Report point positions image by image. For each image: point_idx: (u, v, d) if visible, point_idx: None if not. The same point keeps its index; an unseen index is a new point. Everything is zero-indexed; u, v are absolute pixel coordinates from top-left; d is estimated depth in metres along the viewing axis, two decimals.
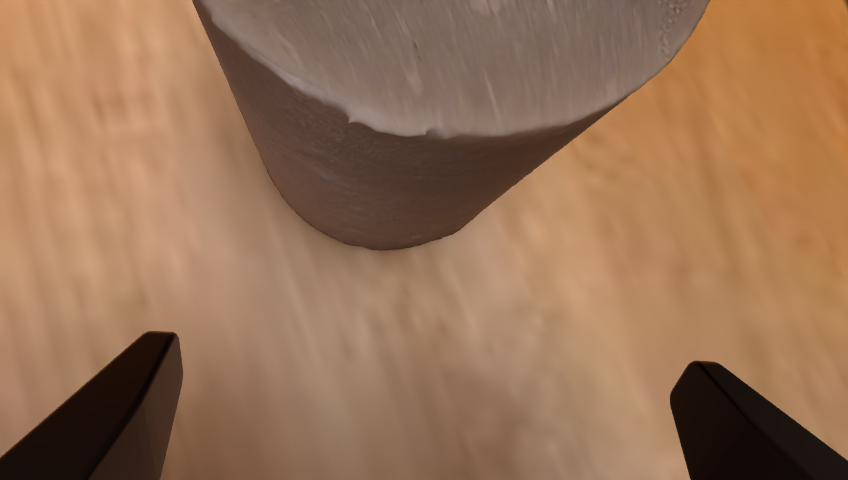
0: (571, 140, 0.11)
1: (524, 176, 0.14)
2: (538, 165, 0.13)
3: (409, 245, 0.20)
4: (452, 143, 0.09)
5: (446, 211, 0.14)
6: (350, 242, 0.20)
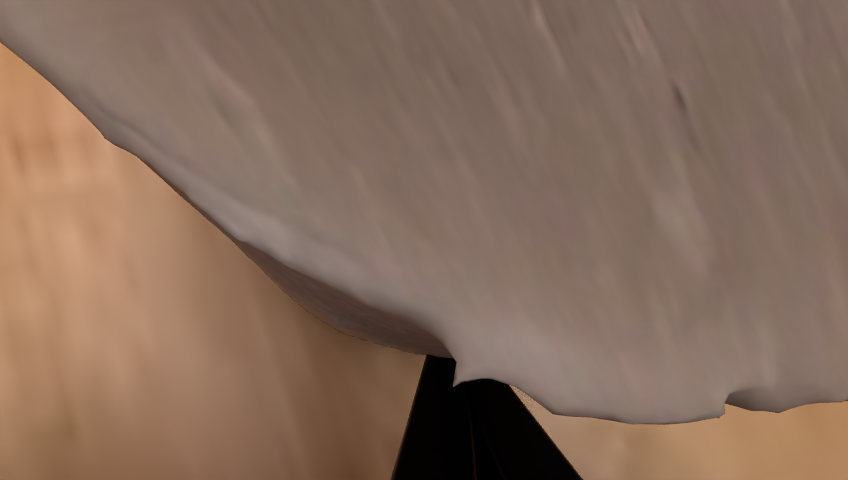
0: None
1: None
2: None
3: None
4: (757, 398, 0.03)
5: None
6: (366, 339, 0.15)
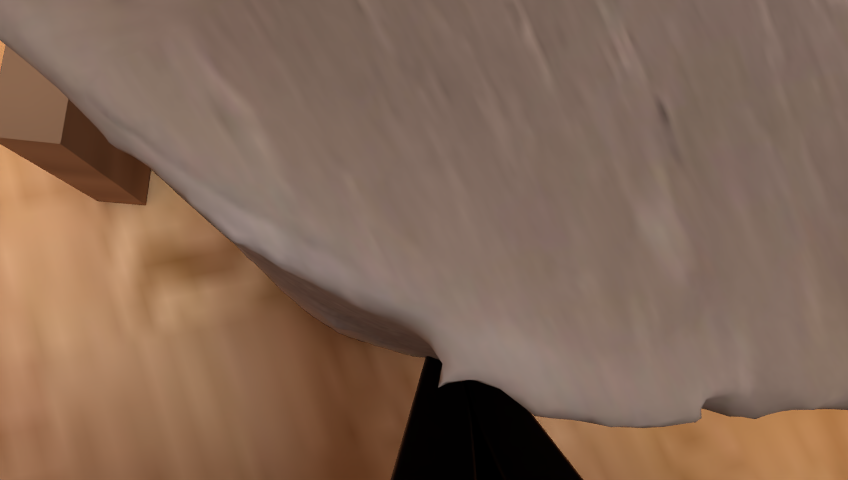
0: None
1: None
2: None
3: None
4: None
5: None
6: (364, 340, 0.15)
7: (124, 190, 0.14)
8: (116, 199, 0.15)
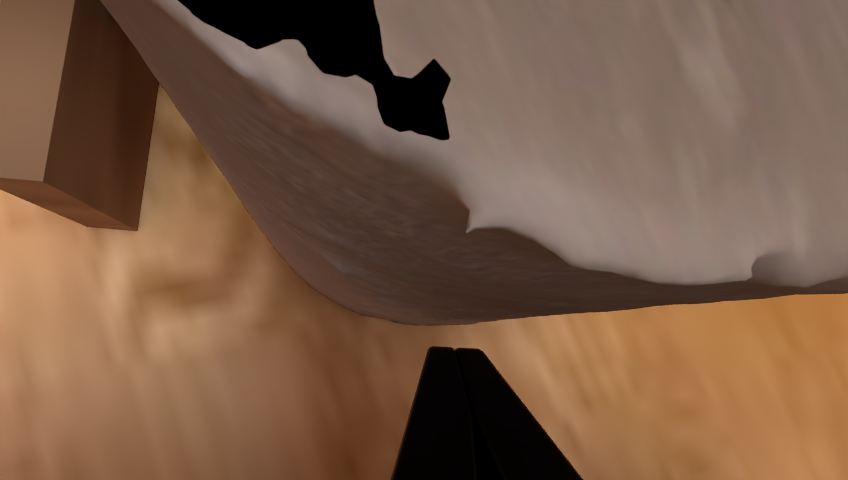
0: None
1: None
2: None
3: None
4: (778, 285, 0.03)
5: None
6: (367, 314, 0.15)
7: (114, 219, 0.13)
8: (106, 225, 0.14)
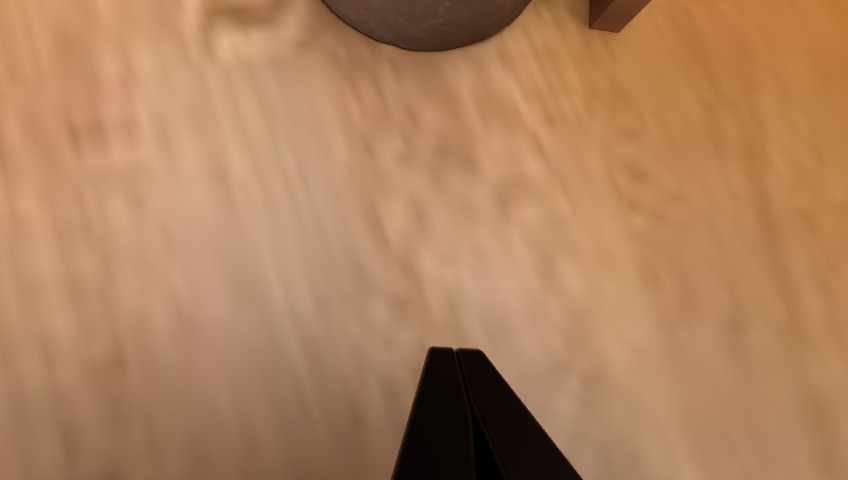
0: None
1: None
2: None
3: (444, 37, 0.19)
4: None
5: None
6: (381, 32, 0.19)
7: None
8: None
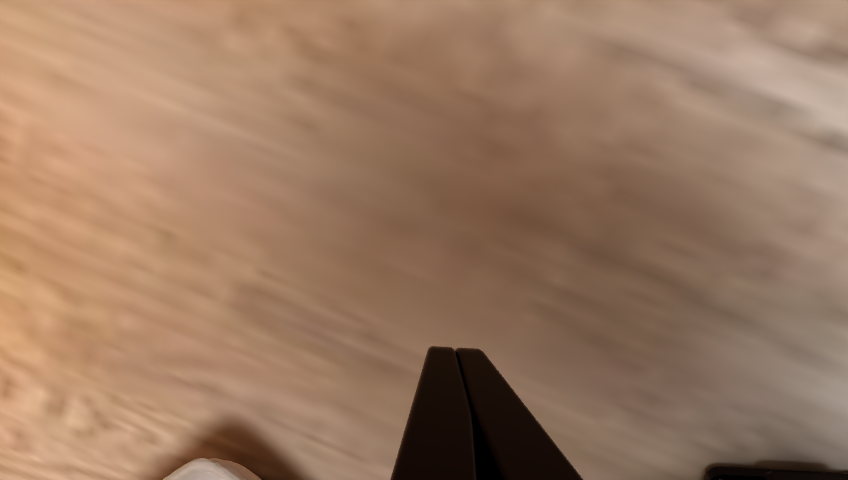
0: None
1: None
2: None
3: None
4: None
5: None
6: None
7: None
8: None
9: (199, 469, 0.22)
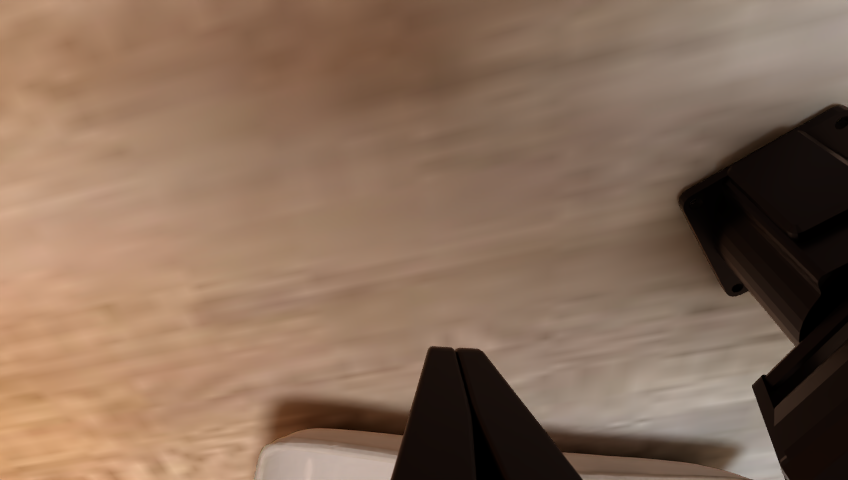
0: None
1: None
2: None
3: None
4: None
5: None
6: None
7: None
8: None
9: (270, 454, 0.25)
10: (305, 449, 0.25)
